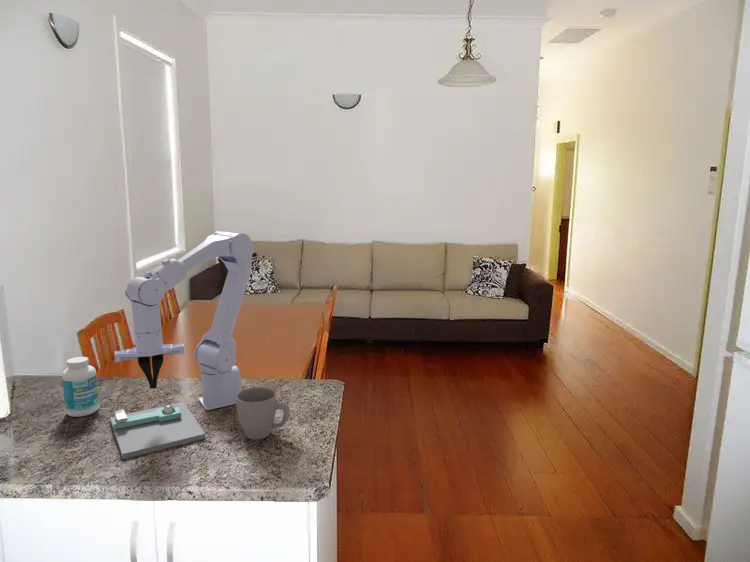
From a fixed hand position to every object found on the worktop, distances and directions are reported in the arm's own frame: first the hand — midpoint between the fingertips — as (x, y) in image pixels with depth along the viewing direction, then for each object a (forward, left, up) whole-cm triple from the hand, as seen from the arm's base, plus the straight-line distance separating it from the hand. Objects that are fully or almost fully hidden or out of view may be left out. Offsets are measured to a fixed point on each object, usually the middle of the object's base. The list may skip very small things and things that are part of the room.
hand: (153, 386), depth 128 cm
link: (+2, -1, -8) cm, 9 cm away
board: (+1, +2, -10) cm, 10 cm away
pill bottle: (+14, -18, -10) cm, 25 cm away
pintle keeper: (+2, -2, -10) cm, 10 cm away
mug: (-20, +17, -10) cm, 28 cm away
